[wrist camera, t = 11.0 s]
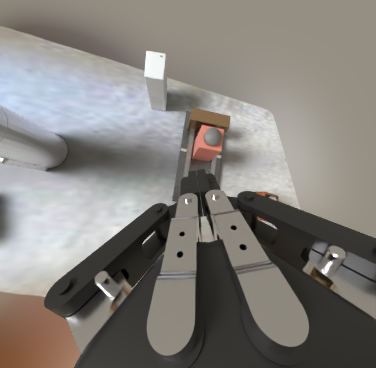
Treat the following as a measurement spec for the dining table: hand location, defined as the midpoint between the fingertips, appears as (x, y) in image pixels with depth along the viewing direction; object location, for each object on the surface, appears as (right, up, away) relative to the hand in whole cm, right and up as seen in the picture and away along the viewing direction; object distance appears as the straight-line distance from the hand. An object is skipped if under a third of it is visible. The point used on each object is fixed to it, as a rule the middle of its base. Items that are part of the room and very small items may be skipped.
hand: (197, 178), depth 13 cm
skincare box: (-9, +24, +29) cm, 39 cm away
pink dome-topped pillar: (+3, +9, +28) cm, 29 cm away
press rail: (+2, +7, +29) cm, 30 cm away
